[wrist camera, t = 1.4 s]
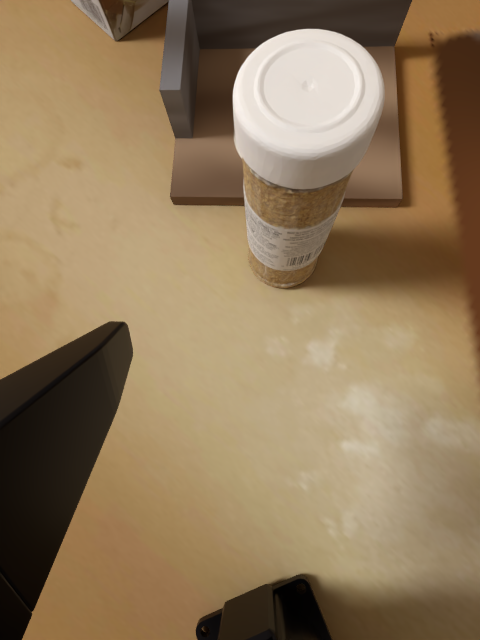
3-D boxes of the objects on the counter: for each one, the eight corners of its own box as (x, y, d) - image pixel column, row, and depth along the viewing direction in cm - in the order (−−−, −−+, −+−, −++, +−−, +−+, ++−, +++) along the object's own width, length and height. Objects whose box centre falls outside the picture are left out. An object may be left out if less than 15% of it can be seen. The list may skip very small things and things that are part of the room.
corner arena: (396, 207, 24) (432, 158, 19) (173, 204, 25) (152, 157, 20) (388, 45, 26) (417, -34, 22) (187, 48, 27) (171, -27, 23)
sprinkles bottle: (306, 218, 24) (362, 4, 11) (325, 281, 23) (412, 130, 10) (239, 234, 24) (215, 40, 11) (256, 298, 23) (251, 169, 10)
